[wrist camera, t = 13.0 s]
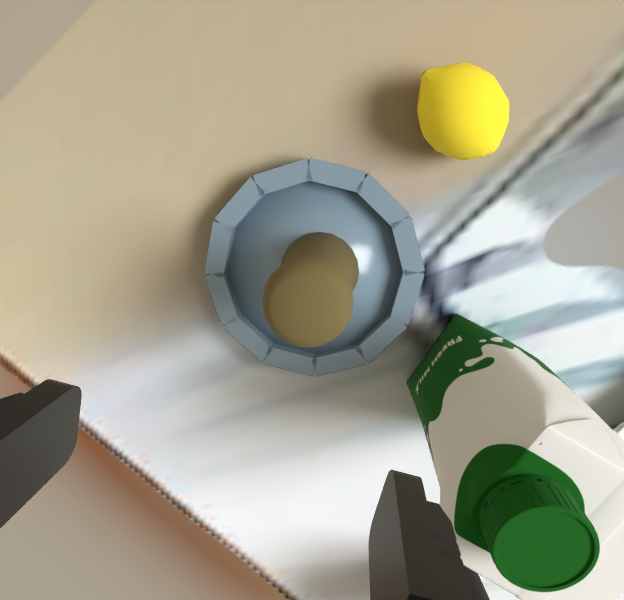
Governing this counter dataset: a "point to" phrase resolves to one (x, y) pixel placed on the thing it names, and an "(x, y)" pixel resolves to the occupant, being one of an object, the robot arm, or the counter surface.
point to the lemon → (462, 111)
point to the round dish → (295, 223)
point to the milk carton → (522, 468)
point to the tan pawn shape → (312, 290)
